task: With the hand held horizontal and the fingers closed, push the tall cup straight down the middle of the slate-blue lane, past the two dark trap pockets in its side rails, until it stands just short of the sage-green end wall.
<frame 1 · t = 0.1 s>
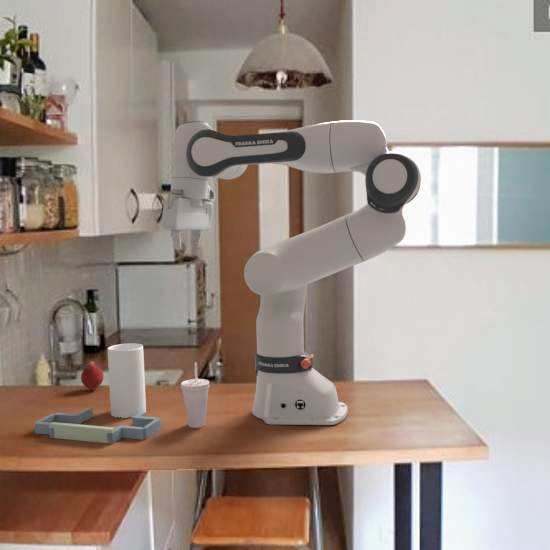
hand: (186, 248, 137), 39 cm above the table, tool pointing down, fingers open, 8 cm apart
cup: (128, 413, 136), on the table
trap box: (100, 428, 125), on the table
onion: (93, 391, 156), on the table
smoothie: (196, 425, 126), on the table
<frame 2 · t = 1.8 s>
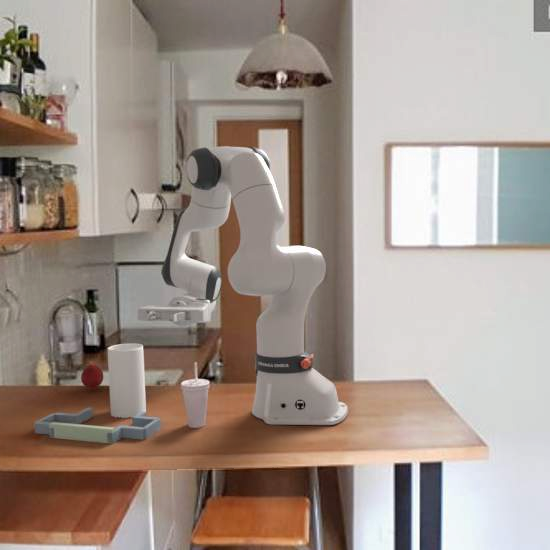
hand: (160, 318, 151), 20 cm above the table, tool horizontal, fingers open, 5 cm apart
nothing on the table moved.
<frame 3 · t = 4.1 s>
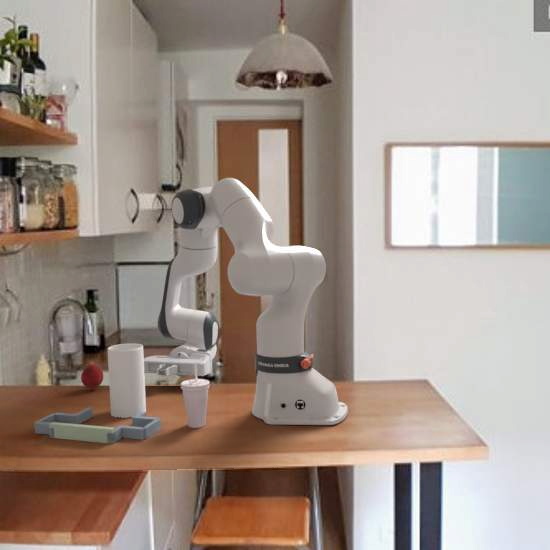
hand: (161, 372, 152), 5 cm above the table, tool horizontal, fingers closed
nothing on the table moved.
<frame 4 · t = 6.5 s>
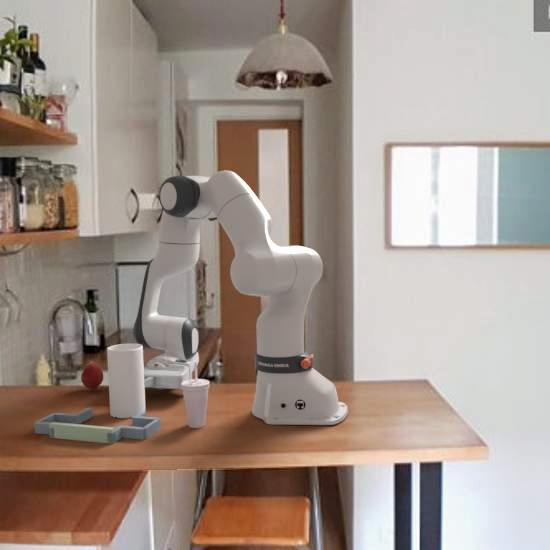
hand: (135, 385, 139), 6 cm above the table, tool horizontal, fingers closed, pressing on cup
cup: (128, 413, 136), on the table, touching gripper
everything else where it was.
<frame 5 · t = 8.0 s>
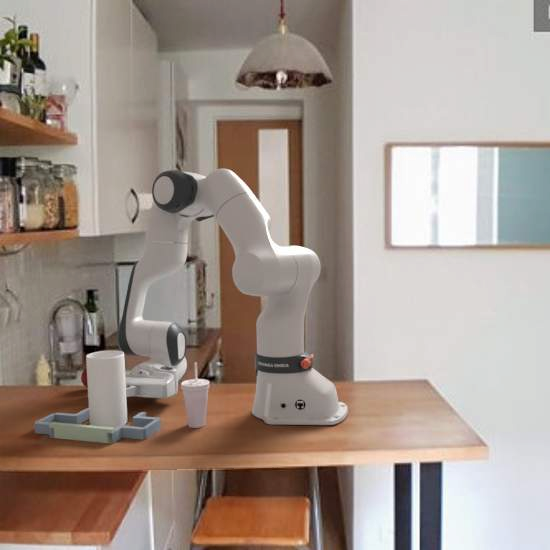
hand: (117, 394, 132), 6 cm above the table, tool horizontal, fingers closed, pressing on cup
cup: (108, 424, 129), on the table, touching gripper
everything else where it was.
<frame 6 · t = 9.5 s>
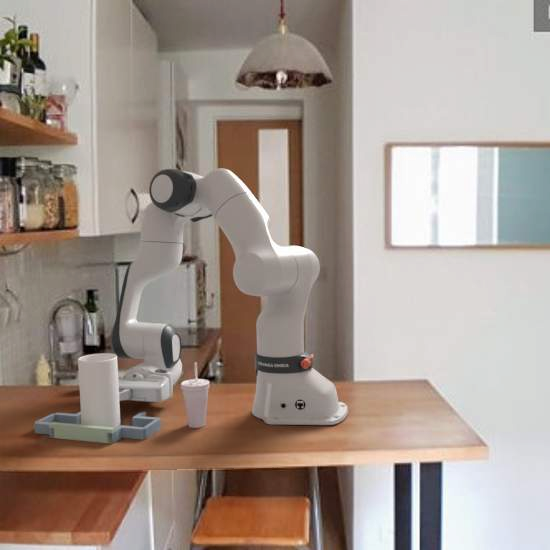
hand: (110, 398, 129), 6 cm above the table, tool horizontal, fingers closed, pressing on cup
cup: (101, 429, 126), on the table, touching gripper
everything else where it was.
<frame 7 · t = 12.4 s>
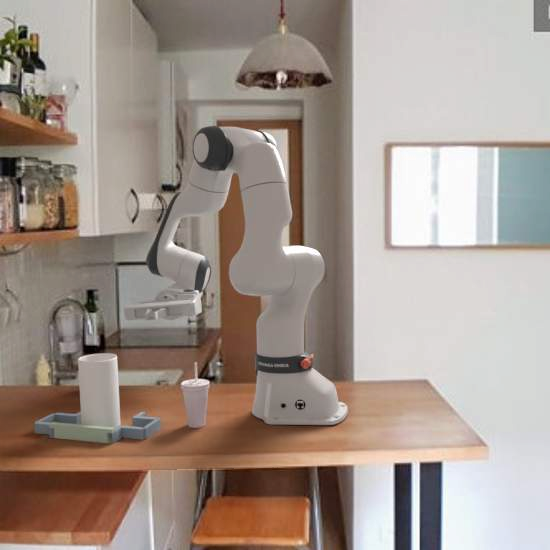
hand: (150, 316, 144), 22 cm above the table, tool horizontal, fingers closed
cup: (101, 429, 126), on the table
everything else where it was.
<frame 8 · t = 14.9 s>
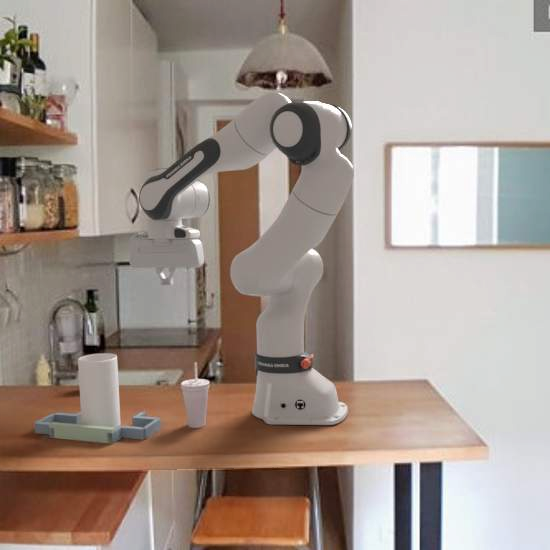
hand: (167, 284, 149), 29 cm above the table, tool pointing down, fingers closed
nothing on the table moved.
at the end: cup inside the target area (1.2 cm from its centre), on the table; cup tilted 0°; cup moved 11.1 cm from its start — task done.
